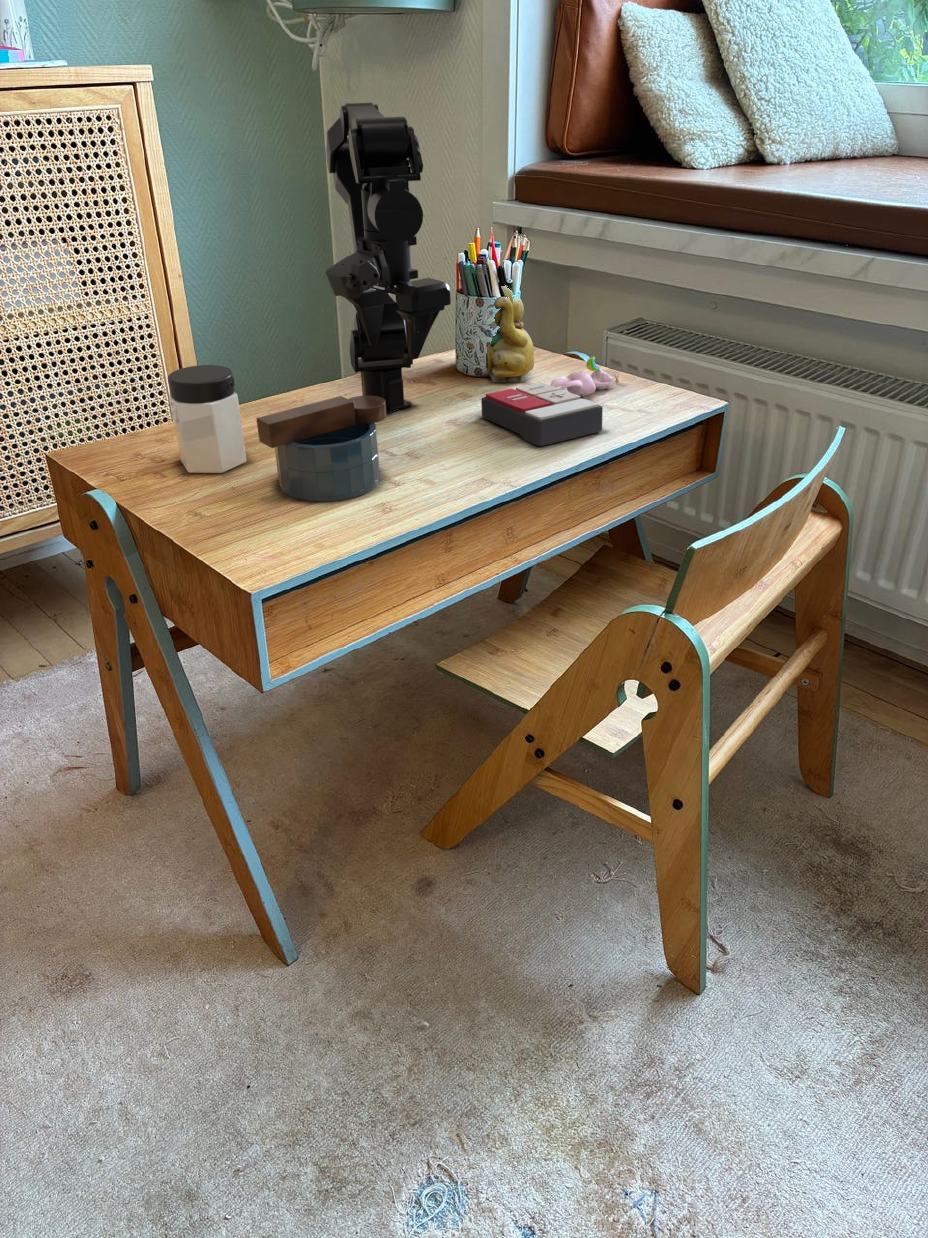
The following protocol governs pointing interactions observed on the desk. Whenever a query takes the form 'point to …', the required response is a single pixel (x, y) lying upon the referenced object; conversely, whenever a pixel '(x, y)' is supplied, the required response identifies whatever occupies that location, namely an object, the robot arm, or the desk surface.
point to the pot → (330, 464)
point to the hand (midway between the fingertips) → (393, 351)
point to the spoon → (319, 419)
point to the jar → (207, 418)
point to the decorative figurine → (509, 342)
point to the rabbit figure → (586, 380)
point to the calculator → (542, 413)
